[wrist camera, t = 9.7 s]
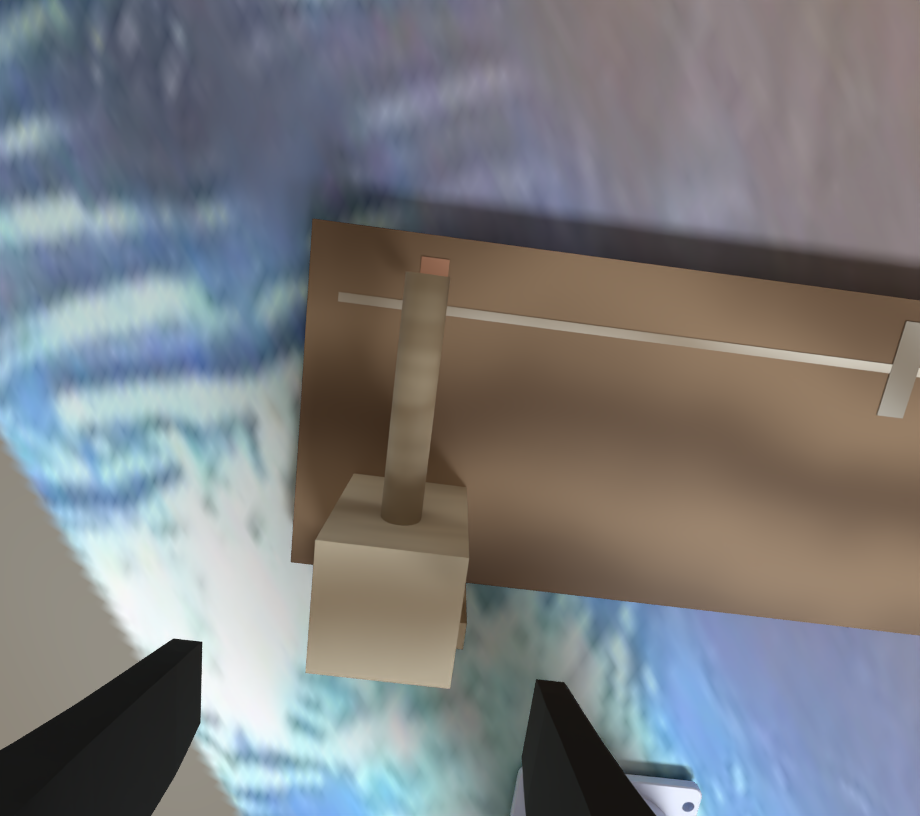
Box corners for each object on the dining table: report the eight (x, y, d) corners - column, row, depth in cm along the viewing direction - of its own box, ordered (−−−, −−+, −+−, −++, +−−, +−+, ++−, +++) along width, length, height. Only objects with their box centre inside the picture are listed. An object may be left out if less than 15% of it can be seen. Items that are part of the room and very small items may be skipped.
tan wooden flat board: (893, 612, 21) (926, 636, 20) (302, 542, 21) (290, 562, 19) (997, 315, 19) (1045, 317, 17) (324, 224, 18) (312, 218, 16)
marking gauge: (462, 595, 21) (463, 721, 15) (336, 581, 21) (284, 701, 15) (507, 287, 18) (530, 286, 12) (363, 268, 18) (314, 257, 12)
